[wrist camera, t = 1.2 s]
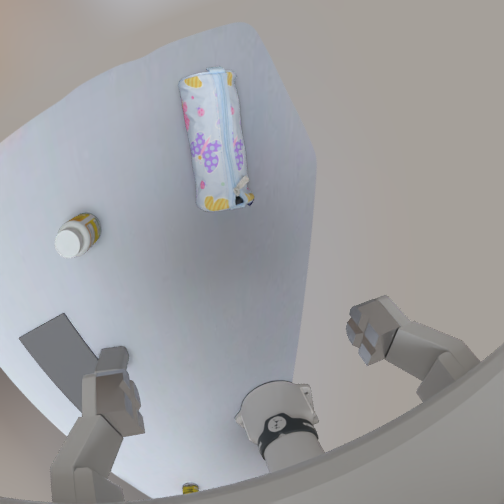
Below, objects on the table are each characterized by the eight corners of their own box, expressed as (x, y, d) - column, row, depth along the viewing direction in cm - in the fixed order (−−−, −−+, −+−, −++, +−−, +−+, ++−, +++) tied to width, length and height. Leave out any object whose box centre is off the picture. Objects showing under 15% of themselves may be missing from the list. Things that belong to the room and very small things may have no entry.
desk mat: (133, 400, 59) (133, 401, 58) (87, 416, 58) (86, 417, 57) (64, 312, 50) (63, 313, 50) (19, 337, 49) (18, 338, 49)
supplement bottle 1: (107, 224, 48) (91, 239, 38) (91, 250, 48) (74, 271, 39) (81, 205, 46) (60, 217, 37) (66, 233, 46) (44, 249, 37)
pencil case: (249, 200, 52) (263, 209, 43) (197, 210, 50) (200, 221, 42) (230, 76, 45) (241, 60, 36) (176, 84, 44) (175, 68, 35)
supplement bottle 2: (192, 481, 71) (195, 503, 63) (200, 486, 73) (204, 508, 65) (179, 485, 71) (181, 507, 63) (187, 490, 73) (190, 512, 65)
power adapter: (99, 349, 54) (87, 389, 42) (124, 345, 54) (116, 386, 43) (105, 361, 55) (94, 402, 43) (130, 358, 55) (123, 399, 44)
